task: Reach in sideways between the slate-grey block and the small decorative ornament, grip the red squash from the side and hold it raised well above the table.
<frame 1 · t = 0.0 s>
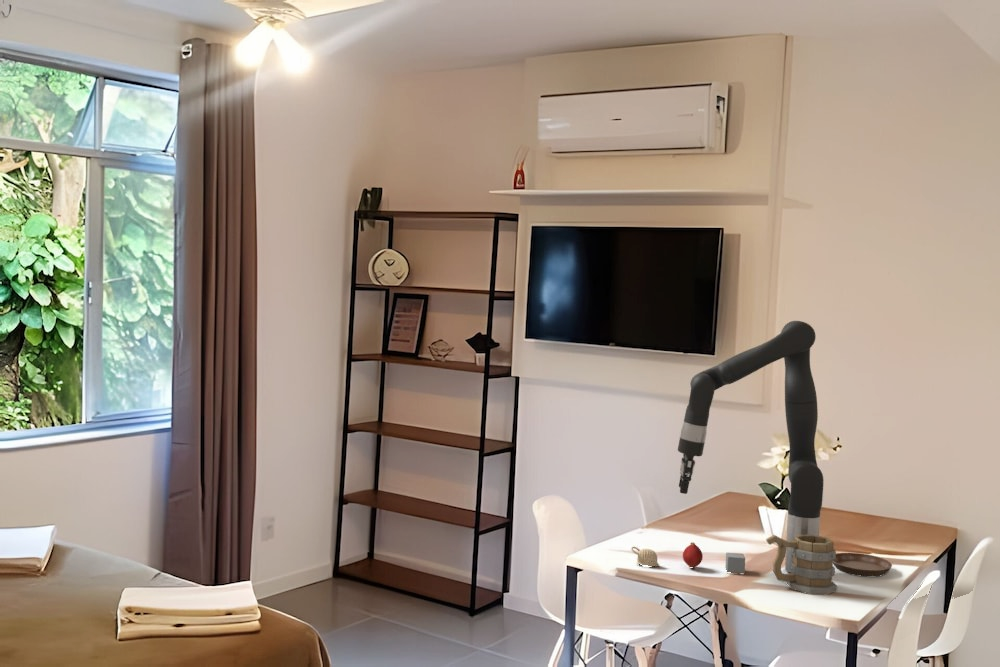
hand: (682, 490, 298), 22 cm above the table, tool pointing down, fingers open, 8 cm apart
red squash: (692, 569, 294), on the table
grey block: (734, 571, 292), on the table
decorative ornament: (645, 566, 295), on the table
tankard: (798, 588, 278), on the table
plant saucer: (860, 571, 299), on the table
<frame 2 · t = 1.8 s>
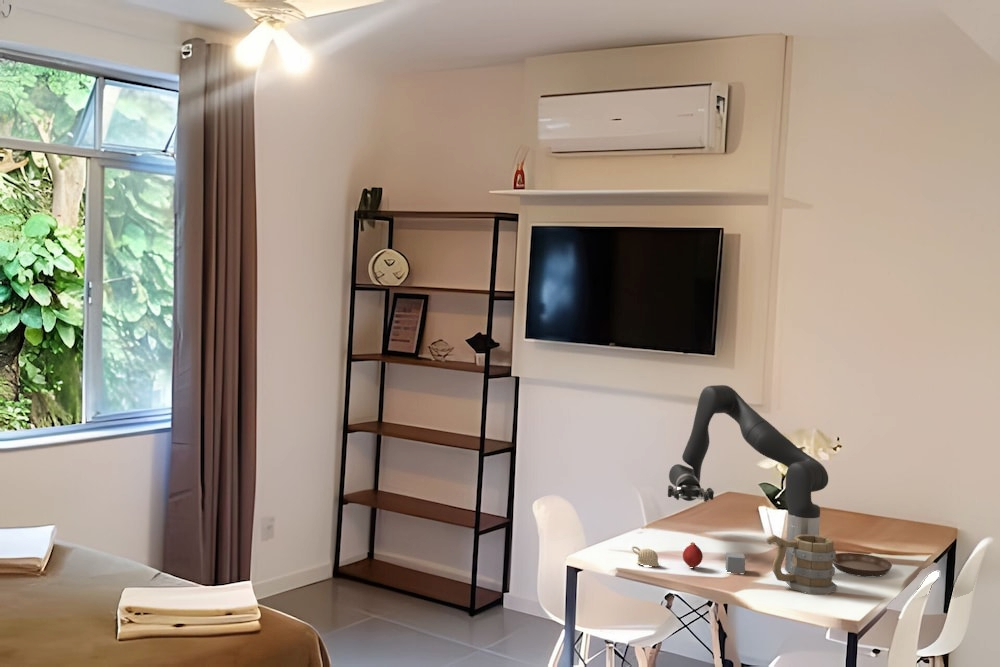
hand: (691, 497, 304), 19 cm above the table, tool horizontal, fingers open, 8 cm apart
nothing on the table moved.
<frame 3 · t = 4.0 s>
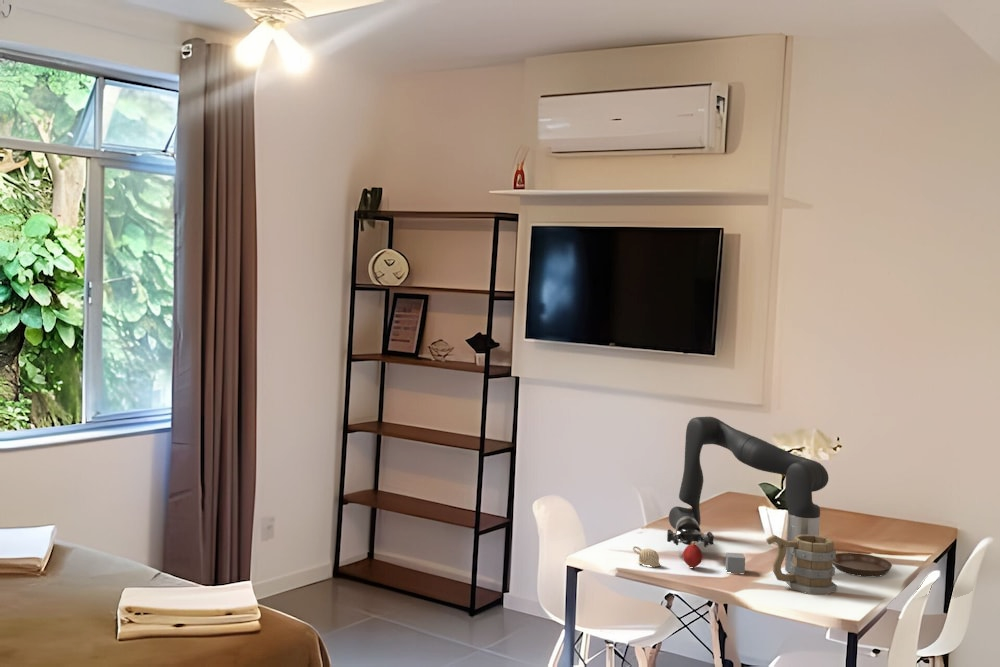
hand: (691, 542, 300), 6 cm above the table, tool horizontal, fingers open, 8 cm apart
nothing on the table moved.
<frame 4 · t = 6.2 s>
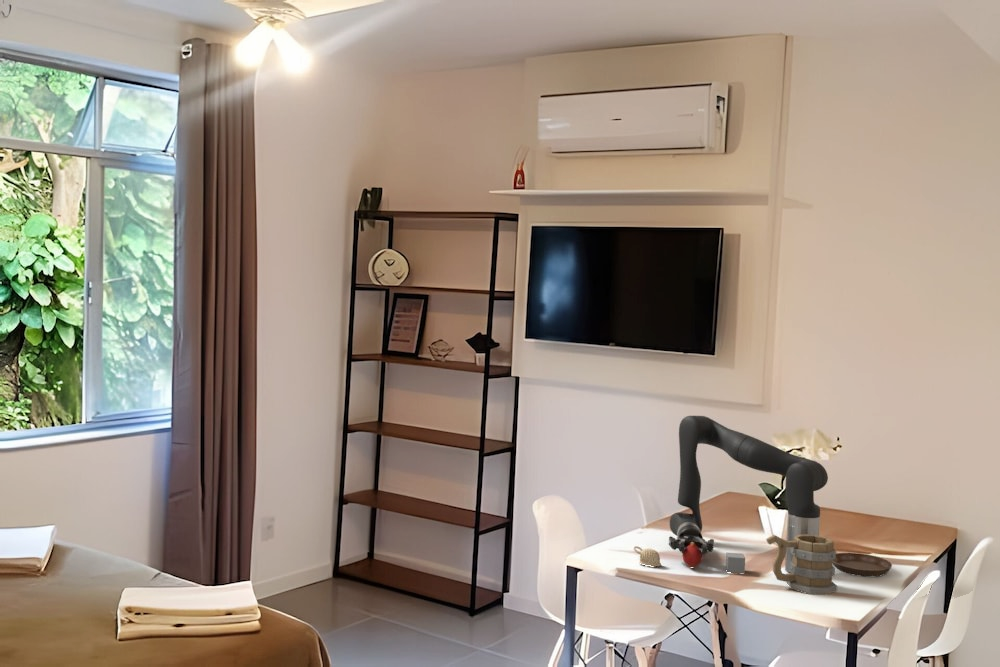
hand: (693, 550, 291), 6 cm above the table, tool horizontal, fingers closed on red squash, 5 cm apart
red squash: (692, 568, 294), on the table, touching gripper
everything else where it was.
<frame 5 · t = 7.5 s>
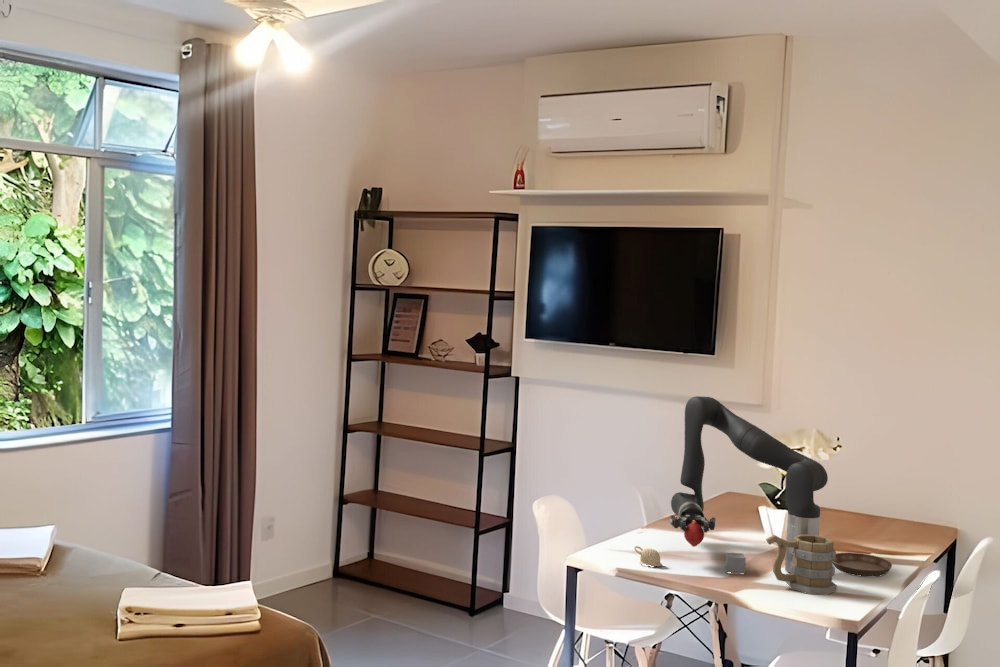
hand: (695, 528, 290), 13 cm above the table, tool horizontal, fingers closed on red squash, 5 cm apart
red squash: (694, 547, 293), point 6 cm above the table, touching gripper
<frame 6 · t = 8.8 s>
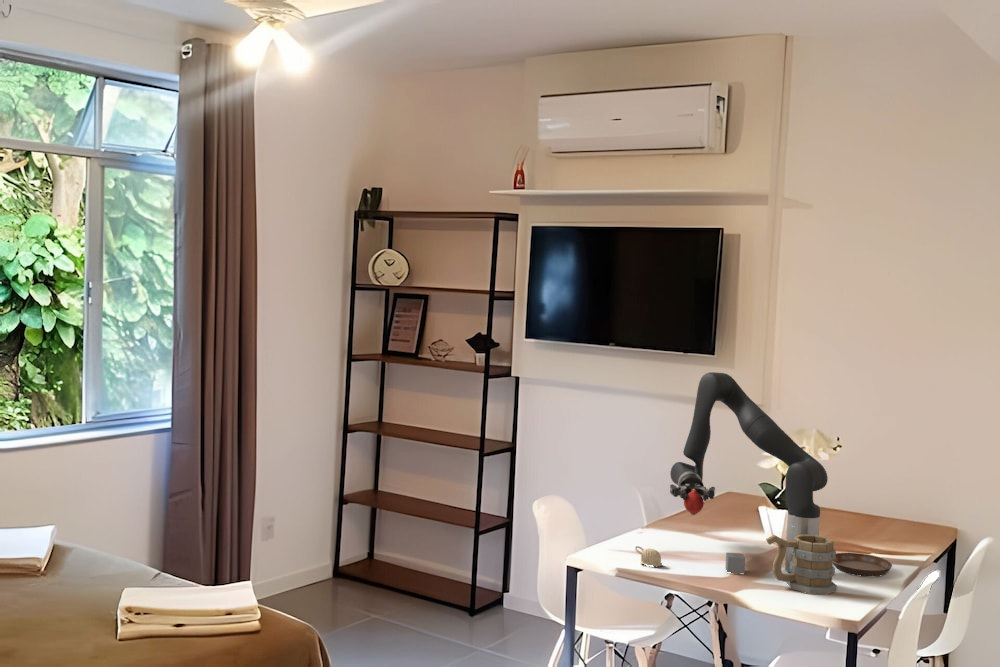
hand: (695, 497, 292), 22 cm above the table, tool horizontal, fingers closed on red squash, 5 cm apart
red squash: (693, 515, 295), point 15 cm above the table, touching gripper
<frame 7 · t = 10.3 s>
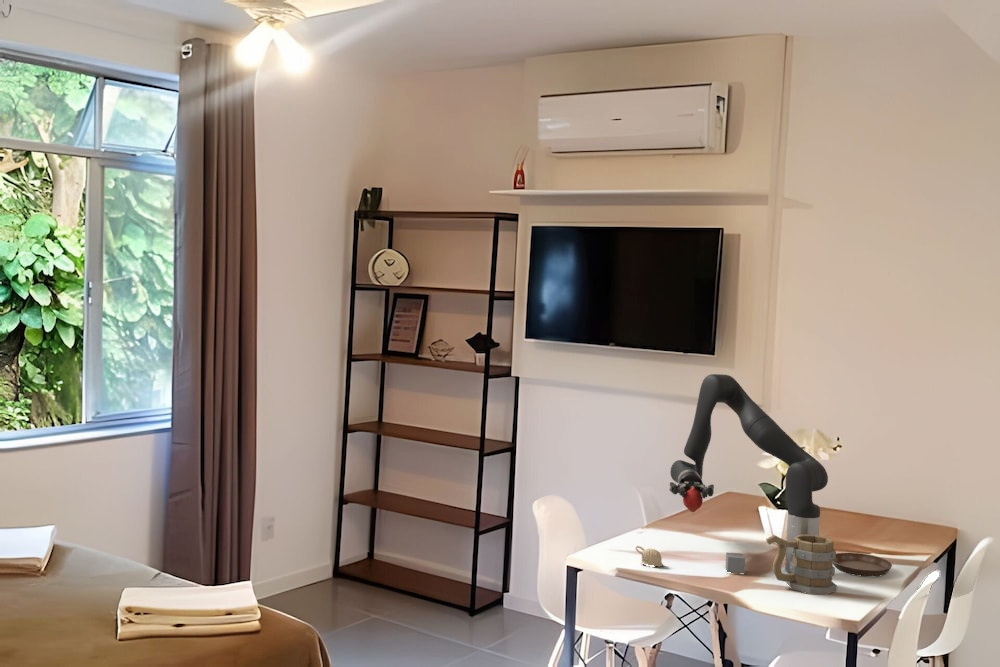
hand: (694, 494, 296), 22 cm above the table, tool horizontal, fingers closed on red squash, 5 cm apart
red squash: (692, 512, 299), point 15 cm above the table, touching gripper
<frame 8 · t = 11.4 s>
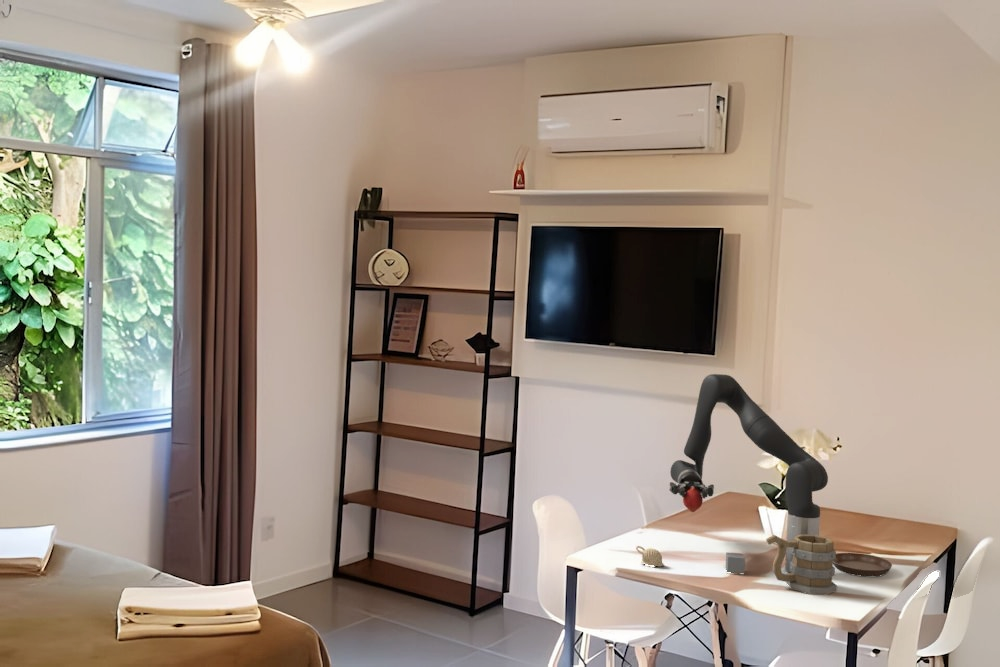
hand: (694, 494, 296), 22 cm above the table, tool horizontal, fingers closed on red squash, 5 cm apart
red squash: (692, 512, 299), point 15 cm above the table, touching gripper
at the end: the gripper is holding red squash; red squash point 15.5 cm above the table; grey block moved 0.1 cm from its start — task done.
